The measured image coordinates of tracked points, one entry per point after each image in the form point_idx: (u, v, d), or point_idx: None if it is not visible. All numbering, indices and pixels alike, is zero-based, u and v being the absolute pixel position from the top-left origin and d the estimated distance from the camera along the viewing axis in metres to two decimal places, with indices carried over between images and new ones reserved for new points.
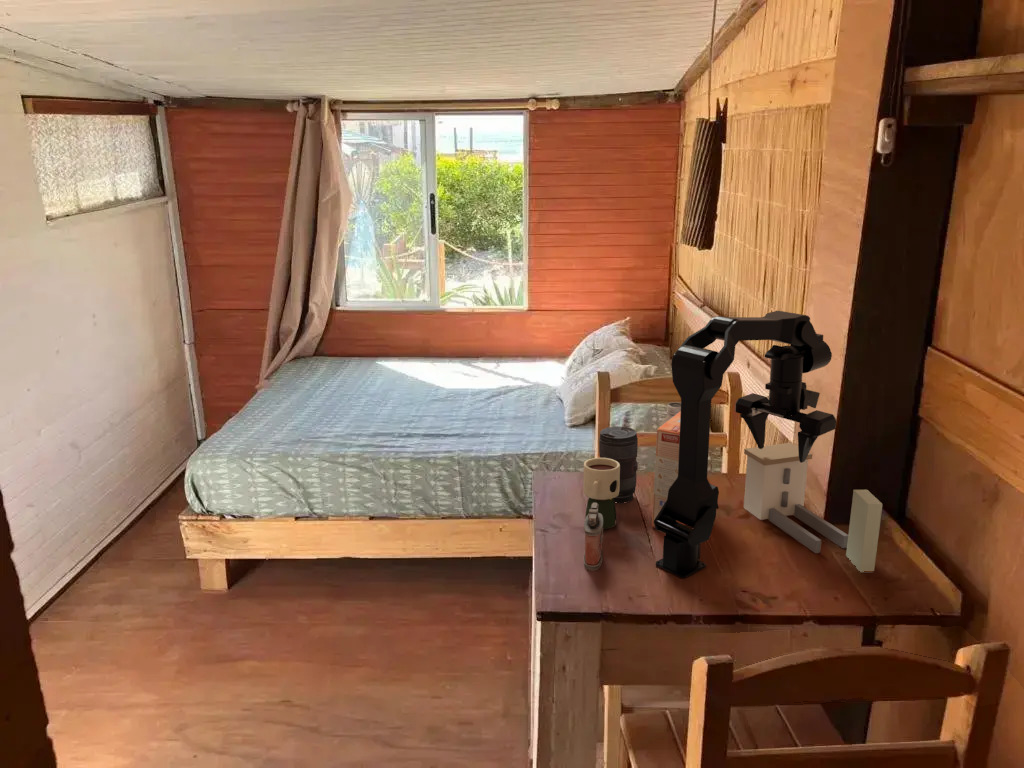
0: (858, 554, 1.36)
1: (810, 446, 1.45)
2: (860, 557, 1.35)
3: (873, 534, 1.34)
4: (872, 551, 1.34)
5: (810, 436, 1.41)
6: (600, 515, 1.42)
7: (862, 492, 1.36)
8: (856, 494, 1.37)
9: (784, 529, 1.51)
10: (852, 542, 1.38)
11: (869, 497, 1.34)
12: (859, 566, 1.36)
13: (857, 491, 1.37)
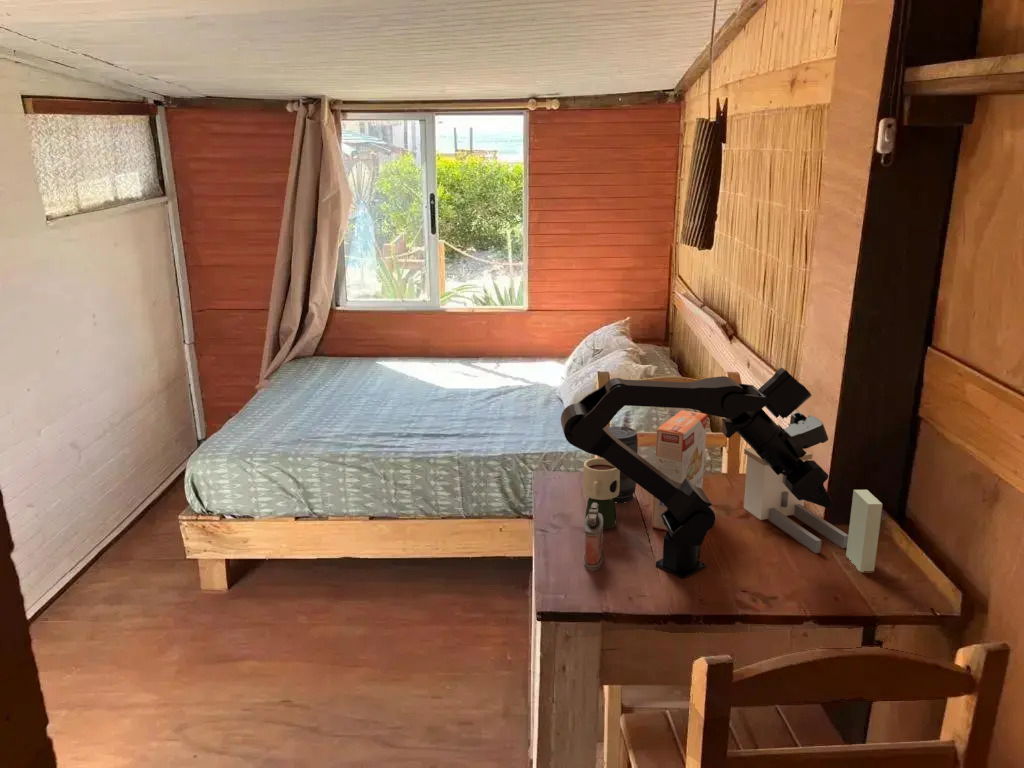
0: (858, 554, 1.36)
1: (824, 494, 1.29)
2: (860, 557, 1.35)
3: (873, 534, 1.34)
4: (872, 551, 1.34)
5: None
6: (600, 515, 1.42)
7: (862, 492, 1.36)
8: (856, 494, 1.37)
9: (784, 529, 1.51)
10: (852, 542, 1.38)
11: (869, 497, 1.34)
12: (859, 566, 1.36)
13: (857, 491, 1.37)
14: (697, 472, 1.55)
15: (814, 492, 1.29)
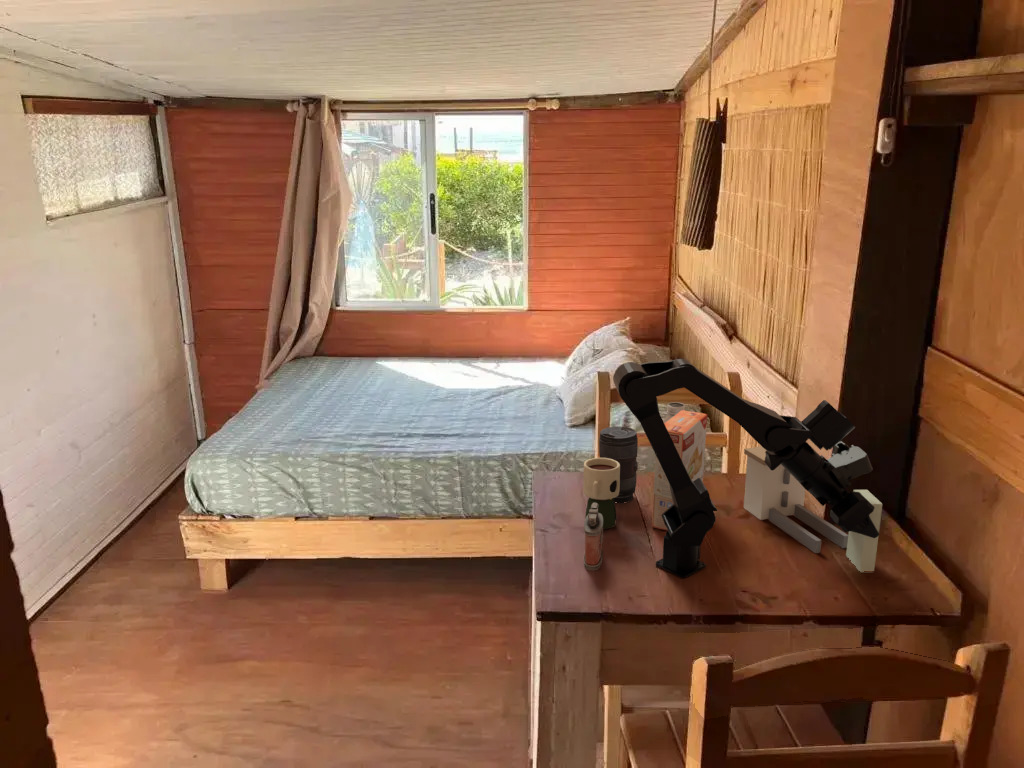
0: (858, 554, 1.36)
1: (869, 524, 1.30)
2: (860, 557, 1.35)
3: None
4: (872, 551, 1.34)
5: None
6: (600, 515, 1.42)
7: (862, 492, 1.36)
8: None
9: (784, 529, 1.51)
10: (852, 542, 1.38)
11: (869, 497, 1.34)
12: (859, 566, 1.36)
13: (857, 491, 1.37)
14: (697, 472, 1.55)
15: (860, 523, 1.30)
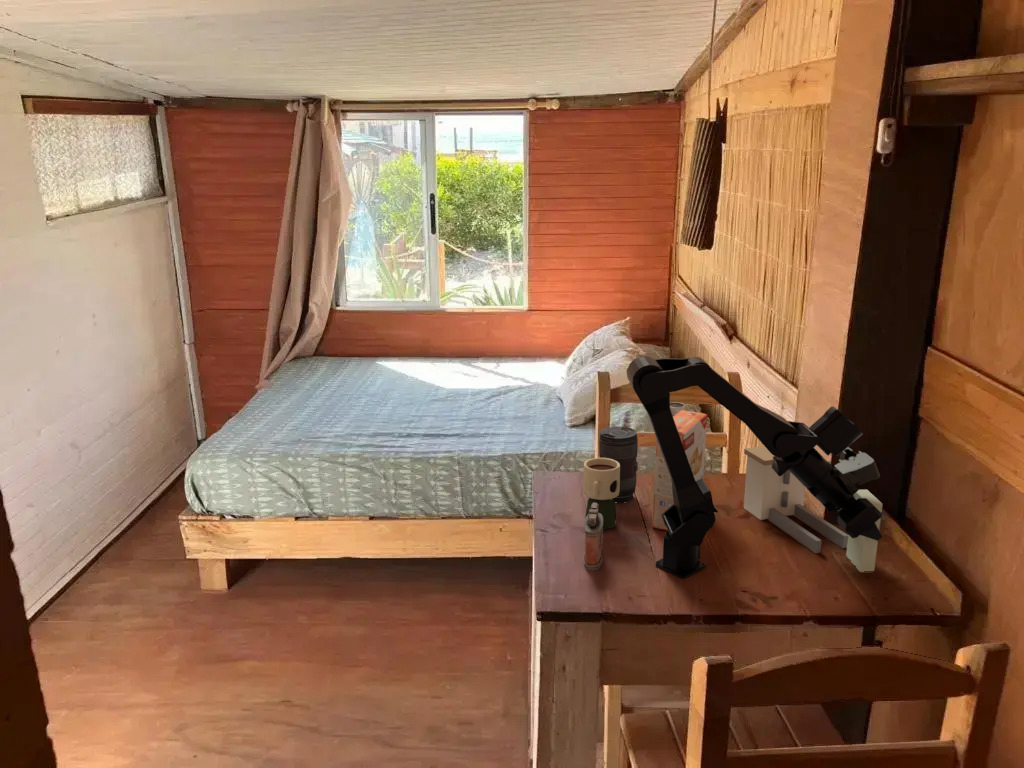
0: (858, 554, 1.36)
1: (872, 527, 1.32)
2: (860, 557, 1.35)
3: None
4: (872, 551, 1.34)
5: None
6: (600, 515, 1.42)
7: (862, 492, 1.36)
8: (856, 494, 1.37)
9: (784, 529, 1.51)
10: (852, 542, 1.38)
11: (869, 497, 1.34)
12: (859, 565, 1.36)
13: (857, 491, 1.37)
14: (697, 472, 1.55)
15: None
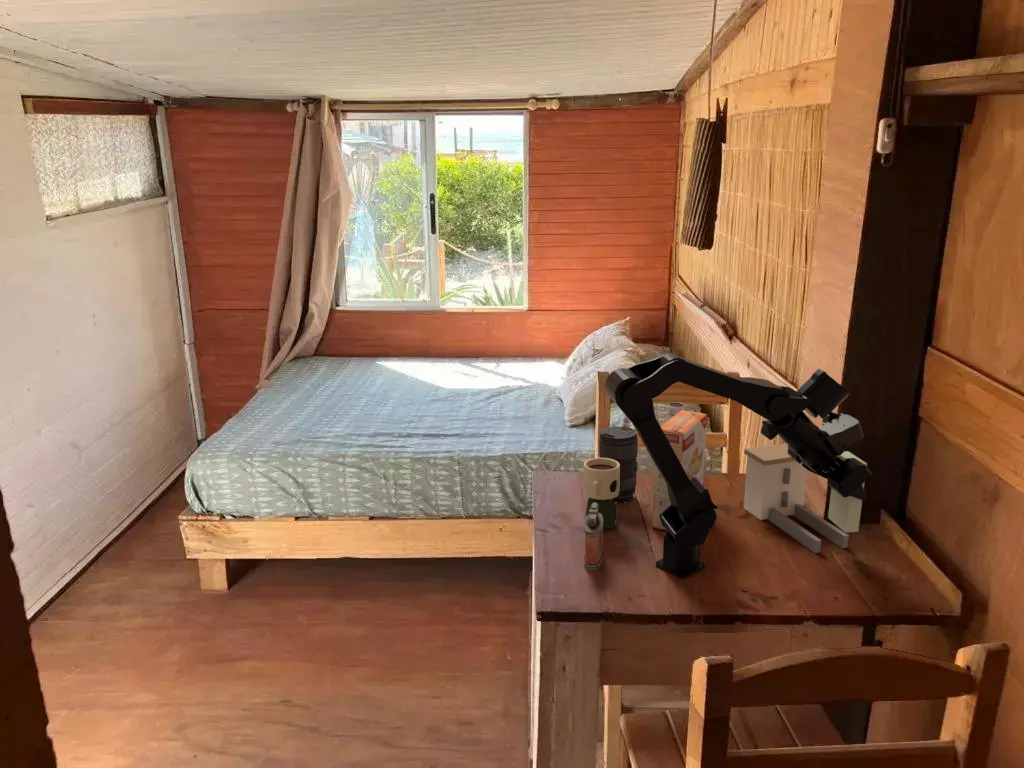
0: (843, 515, 1.38)
1: (858, 486, 1.34)
2: (846, 517, 1.37)
3: None
4: (857, 511, 1.37)
5: None
6: (600, 515, 1.42)
7: (844, 454, 1.39)
8: (839, 456, 1.39)
9: (784, 529, 1.51)
10: (835, 504, 1.41)
11: None
12: (844, 526, 1.38)
13: None
14: (697, 472, 1.55)
15: None
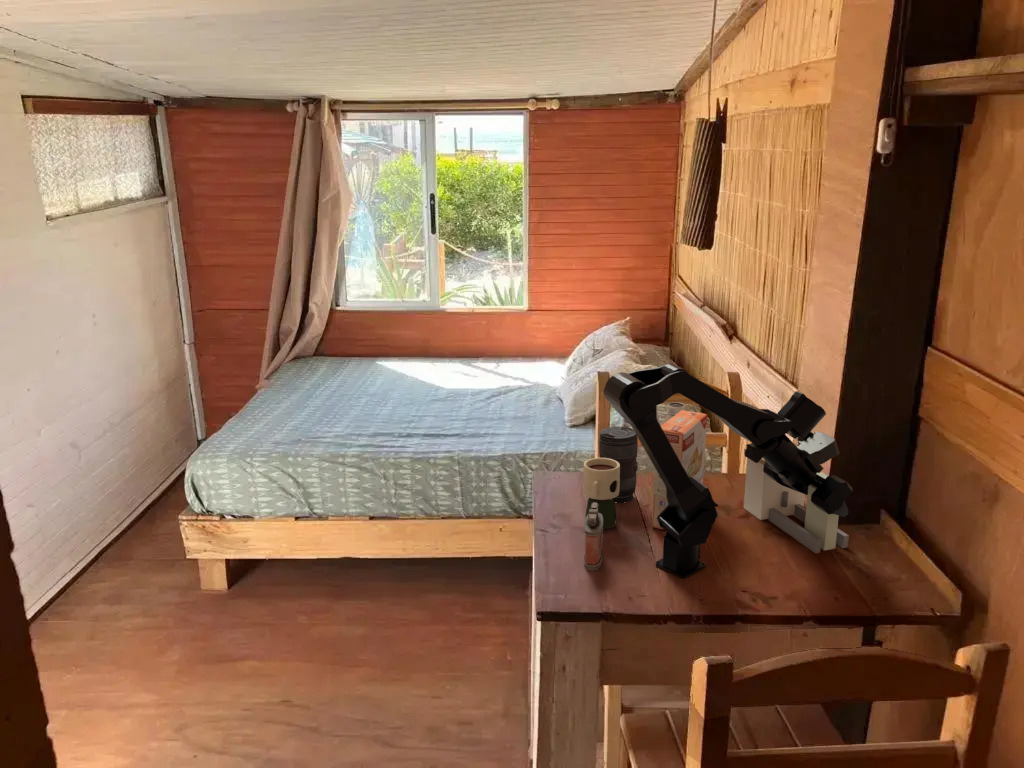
0: (820, 533, 1.44)
1: (842, 504, 1.38)
2: (824, 536, 1.43)
3: None
4: (834, 529, 1.43)
5: None
6: (600, 515, 1.42)
7: None
8: None
9: (784, 529, 1.51)
10: (811, 523, 1.46)
11: None
12: (822, 544, 1.43)
13: None
14: (697, 472, 1.55)
15: None
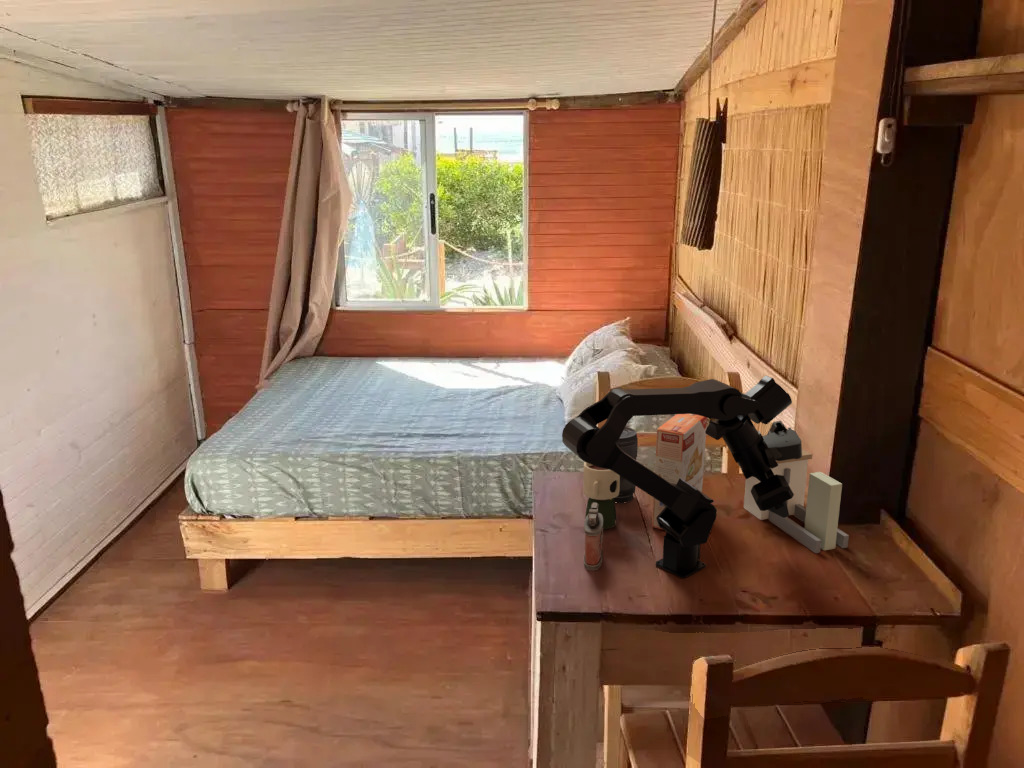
0: (820, 533, 1.44)
1: (783, 506, 1.35)
2: (824, 536, 1.43)
3: (835, 513, 1.42)
4: (834, 529, 1.43)
5: None
6: (600, 515, 1.42)
7: (818, 475, 1.44)
8: (814, 477, 1.44)
9: (784, 529, 1.51)
10: (811, 523, 1.46)
11: (827, 479, 1.42)
12: (822, 544, 1.43)
13: (813, 474, 1.45)
14: (697, 472, 1.55)
15: None
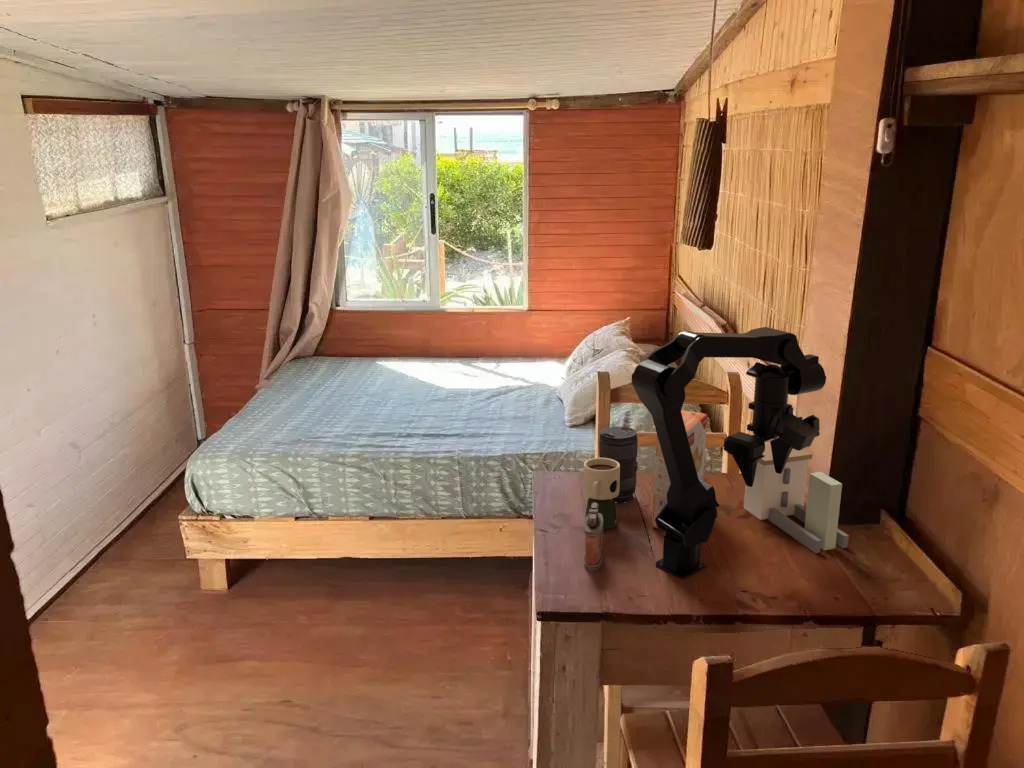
0: (820, 533, 1.44)
1: (749, 471, 1.38)
2: (824, 536, 1.43)
3: (835, 513, 1.42)
4: (834, 529, 1.43)
5: None
6: (600, 515, 1.42)
7: (818, 475, 1.44)
8: (814, 477, 1.44)
9: (784, 529, 1.51)
10: (811, 523, 1.46)
11: (827, 479, 1.42)
12: (822, 544, 1.43)
13: (813, 474, 1.45)
14: (697, 472, 1.55)
15: (745, 462, 1.38)
